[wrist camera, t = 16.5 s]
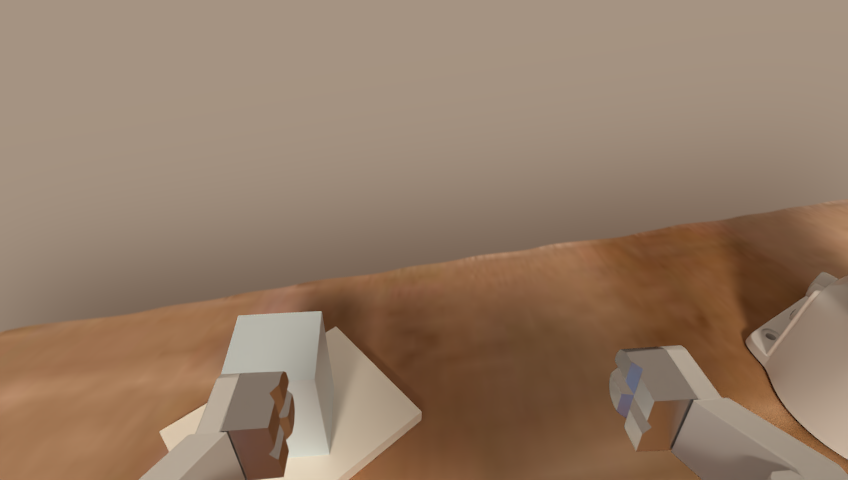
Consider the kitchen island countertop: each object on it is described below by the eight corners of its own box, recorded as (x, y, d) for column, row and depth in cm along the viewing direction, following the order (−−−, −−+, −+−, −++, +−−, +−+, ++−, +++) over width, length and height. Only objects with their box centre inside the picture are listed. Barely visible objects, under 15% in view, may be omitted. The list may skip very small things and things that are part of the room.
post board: (337, 334, 45) (328, 270, 40) (421, 419, 38) (423, 354, 33) (164, 440, 37) (125, 374, 32) (232, 574, 30) (196, 517, 25)
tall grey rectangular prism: (334, 387, 39) (321, 311, 34) (329, 454, 35) (314, 379, 29) (262, 392, 39) (238, 315, 33) (248, 461, 34) (217, 385, 29)
